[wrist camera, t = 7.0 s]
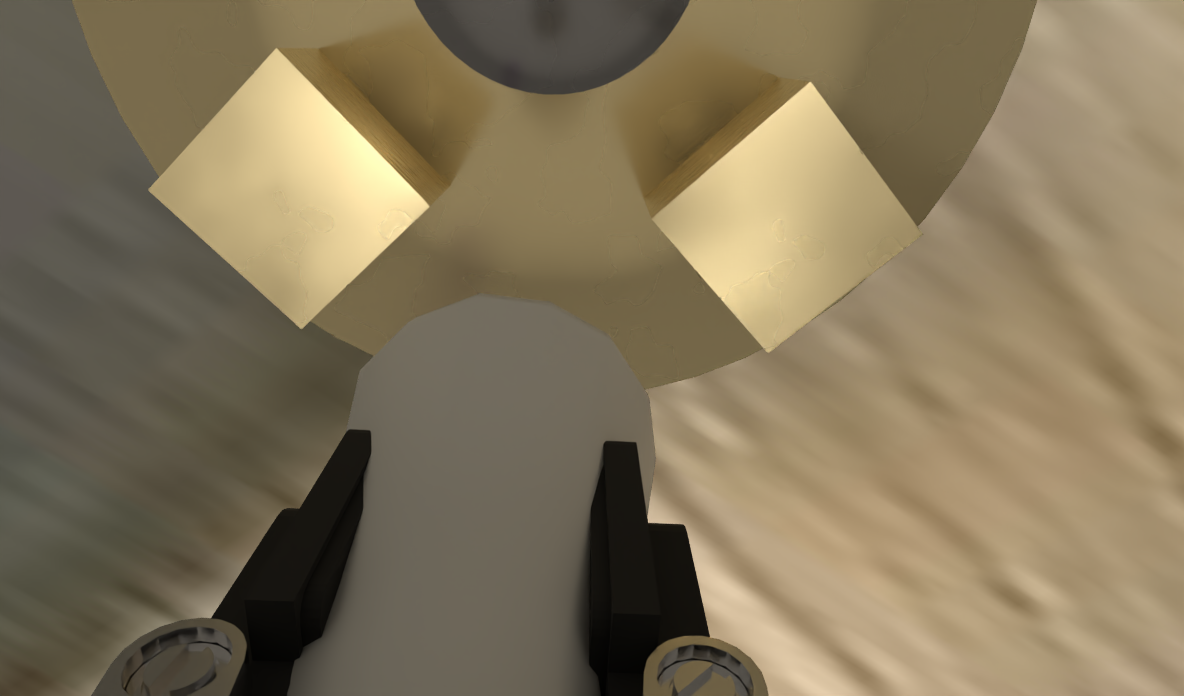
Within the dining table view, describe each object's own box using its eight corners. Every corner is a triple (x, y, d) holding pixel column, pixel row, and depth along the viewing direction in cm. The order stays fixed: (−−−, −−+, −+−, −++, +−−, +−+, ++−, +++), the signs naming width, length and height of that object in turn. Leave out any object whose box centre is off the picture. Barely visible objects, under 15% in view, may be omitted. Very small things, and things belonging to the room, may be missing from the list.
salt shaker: (325, 351, 16) (-449, 1268, 4) (548, 208, 15) (414, 868, 3) (484, 542, 18) (285, 1560, 6) (692, 427, 17) (976, 1380, 5)
